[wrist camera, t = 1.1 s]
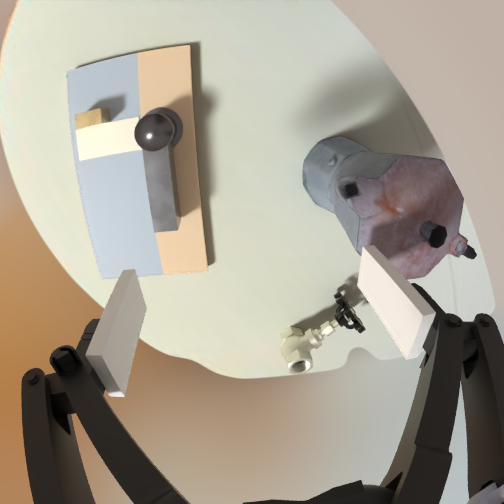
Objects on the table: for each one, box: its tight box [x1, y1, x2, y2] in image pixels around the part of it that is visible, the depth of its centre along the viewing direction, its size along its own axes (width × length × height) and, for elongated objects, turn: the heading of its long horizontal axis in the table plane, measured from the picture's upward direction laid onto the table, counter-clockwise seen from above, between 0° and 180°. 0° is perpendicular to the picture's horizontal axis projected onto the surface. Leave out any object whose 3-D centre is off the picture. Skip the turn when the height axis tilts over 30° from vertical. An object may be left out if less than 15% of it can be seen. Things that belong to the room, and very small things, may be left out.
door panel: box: [67, 45, 208, 279], centre depth 30 cm, size 26×14×1 cm, turn 2°
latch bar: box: [134, 113, 181, 233], centre depth 28 cm, size 12×4×4 cm, turn 2°
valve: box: [280, 292, 366, 374], centre depth 40 cm, size 7×7×12 cm
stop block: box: [75, 108, 110, 129], centre depth 25 cm, size 2×3×2 cm, turn 92°
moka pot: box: [303, 136, 477, 279], centre depth 24 cm, size 10×15×20 cm, turn 74°
